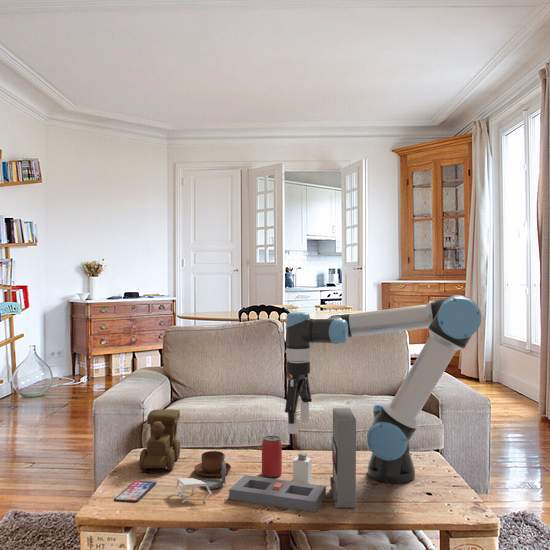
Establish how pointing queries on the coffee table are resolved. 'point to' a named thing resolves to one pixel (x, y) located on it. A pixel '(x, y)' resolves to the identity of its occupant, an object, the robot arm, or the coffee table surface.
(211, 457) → the cup and saucer
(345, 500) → the upright grey rectangular panel
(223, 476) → the pocket watch
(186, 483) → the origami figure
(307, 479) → the plug
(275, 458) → the beer can
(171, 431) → the wooden toy train
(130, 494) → the smartphone
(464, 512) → the coffee table surface
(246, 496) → the power strip
